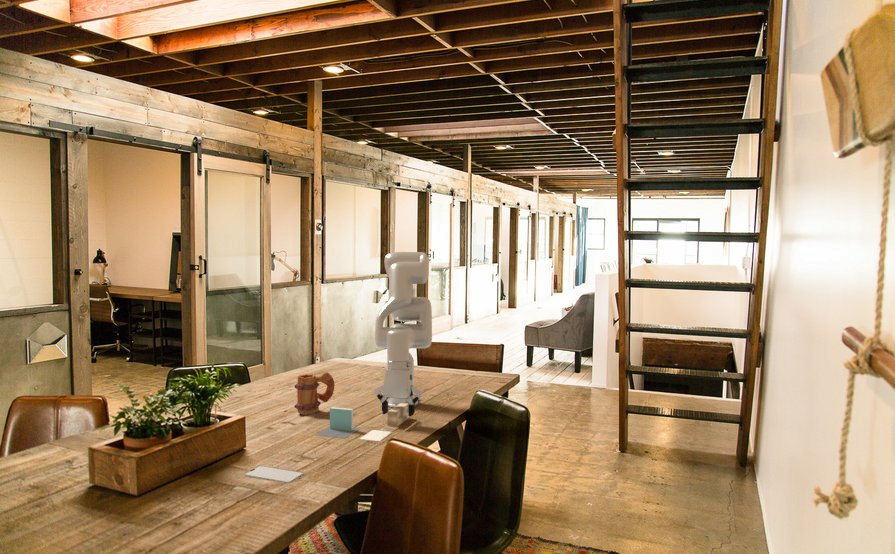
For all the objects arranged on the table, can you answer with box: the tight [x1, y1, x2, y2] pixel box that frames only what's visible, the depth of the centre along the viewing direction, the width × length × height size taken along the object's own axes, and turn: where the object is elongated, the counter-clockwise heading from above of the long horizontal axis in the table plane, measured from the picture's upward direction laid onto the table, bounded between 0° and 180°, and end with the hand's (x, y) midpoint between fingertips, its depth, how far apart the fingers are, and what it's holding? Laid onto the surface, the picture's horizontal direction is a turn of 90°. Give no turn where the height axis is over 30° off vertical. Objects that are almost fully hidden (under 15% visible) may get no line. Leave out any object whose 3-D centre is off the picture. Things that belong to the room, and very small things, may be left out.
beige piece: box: [379, 403, 410, 433], centre depth 211 cm, size 16×5×6 cm, turn 162°
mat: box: [314, 425, 361, 439], centre depth 203 cm, size 12×11×1 cm
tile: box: [329, 406, 354, 431], centre depth 205 cm, size 2×8×7 cm, turn 72°
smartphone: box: [243, 465, 305, 484], centre depth 166 cm, size 7×1×15 cm
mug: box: [294, 371, 336, 416], centre depth 227 cm, size 15×8×15 cm, turn 105°
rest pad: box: [359, 429, 393, 443], centre depth 198 cm, size 10×7×1 cm
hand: (398, 414), depth 212 cm, fingers open, 9 cm apart
